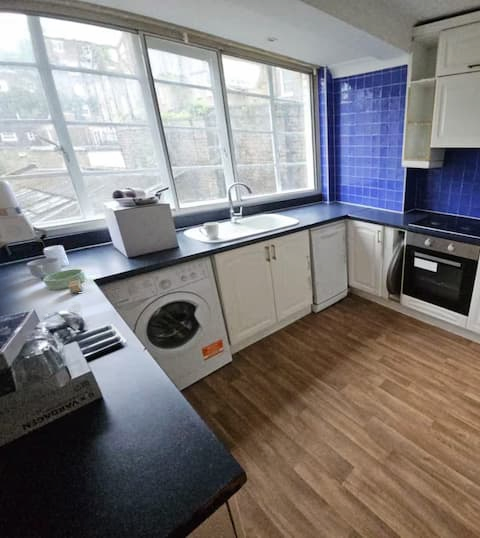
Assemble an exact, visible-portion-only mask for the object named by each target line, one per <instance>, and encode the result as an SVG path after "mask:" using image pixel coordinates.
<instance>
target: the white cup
mask: <svg viewBox="0 0 480 538" xmlns="http://www.w3.org/2000/svg"><path fill="white" fill-rule="evenodd" d="M42 252H43V255H44V256H45V258H59V261H60V264H61V267H62V268H63V267H66V266H68V265H70V261H69V259H68V256H67V253H66V250H65V248H64V245H61V244H59V245H51V246H47V247H45V249H44V251H42Z"/></svg>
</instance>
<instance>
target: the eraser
mask: <svg viewBox="0 0 480 538" xmlns="http://www.w3.org/2000/svg"><path fill="white" fill-rule="evenodd" d="M82 288H83V286H82V283H80V281H79V280H77V281H73V282H69V286H68V288H67V289H68V290H69V292H70V294H71V295H72V294H75V295H77V294H76V293H79V292H82V293H83V289H82ZM79 294H80V293H79Z"/></svg>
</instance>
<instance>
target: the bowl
mask: <svg viewBox="0 0 480 538" xmlns="http://www.w3.org/2000/svg"><path fill="white" fill-rule="evenodd" d="M77 280H79V281H80V283H81V282H82V283H84V282H85V281H86V280H87V277H86V274H85V272H84V270H83V269H81V268H73V269H72V268H71V269H66V270H61V272H57V273H54V274H51V275H48V276H46V277H45V278H42V281H43V283H44V285H45V287H46V288H47V289H48V290H53V291H54V290H55V291H57V290H65V289H69V288H68V286H69V282H73V281H77ZM84 280H85V281H84ZM83 281H84V282H83ZM82 283H81V284H82Z"/></svg>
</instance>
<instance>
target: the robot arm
mask: <svg viewBox="0 0 480 538" xmlns="http://www.w3.org/2000/svg"><path fill="white" fill-rule="evenodd" d="M48 231H49V230H48V229H46V228H40V227H37V226H34V225H33V223H32V222H31V220H30V218H29V217H28V216H27V214H26V213H24V212H23V210H22V209H21V206H20V204H19V202H18V200H17V196H16V194H15V192H14V190H13V188H12V186H11V184H10V182H9V181H8V180H7V179H4V178H0V249H1V251H2V253H3V255H6V256H7V257H10V256H11V255H12V252H11V250H10V248H9V246H8V245H7V244H6V243H10V242H20V241H26V240H27V241H28V240H34V241H36V244H37V247H38V249H39V251H40V252H43V251H44V249H45V248H46V246H45V243H44V240H45V239H46V238H47V235H48ZM37 232H39V233H41V236H40V235H38V233H37Z"/></svg>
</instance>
